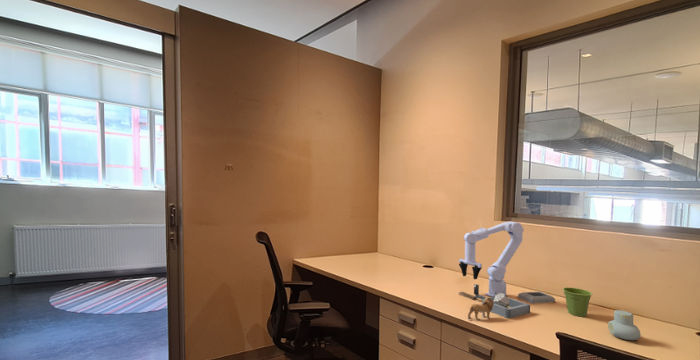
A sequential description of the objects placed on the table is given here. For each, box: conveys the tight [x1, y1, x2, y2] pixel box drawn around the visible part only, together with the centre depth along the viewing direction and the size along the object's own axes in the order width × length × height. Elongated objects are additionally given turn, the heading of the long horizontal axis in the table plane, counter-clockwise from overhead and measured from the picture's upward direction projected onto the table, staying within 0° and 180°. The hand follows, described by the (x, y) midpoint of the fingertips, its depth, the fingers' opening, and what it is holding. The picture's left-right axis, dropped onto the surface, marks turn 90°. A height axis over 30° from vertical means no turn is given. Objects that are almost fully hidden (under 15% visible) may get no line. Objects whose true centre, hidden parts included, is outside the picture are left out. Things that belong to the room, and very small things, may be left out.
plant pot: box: [562, 287, 593, 318], centre depth 151 cm, size 12×12×11 cm
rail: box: [458, 291, 478, 301], centre depth 173 cm, size 3×10×1 cm, turn 29°
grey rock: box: [493, 291, 512, 308], centre depth 156 cm, size 9×8×10 cm
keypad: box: [517, 291, 556, 304], centre depth 171 cm, size 10×4×15 cm
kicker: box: [473, 283, 494, 300], centre depth 165 cm, size 11×11×8 cm
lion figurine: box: [467, 296, 493, 321], centre depth 142 cm, size 15×5×9 cm, turn 116°
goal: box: [481, 297, 531, 319], centre depth 153 cm, size 17×14×4 cm
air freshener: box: [607, 309, 642, 341], centre depth 127 cm, size 11×8×10 cm
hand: (469, 277), depth 178 cm, fingers open, 7 cm apart
